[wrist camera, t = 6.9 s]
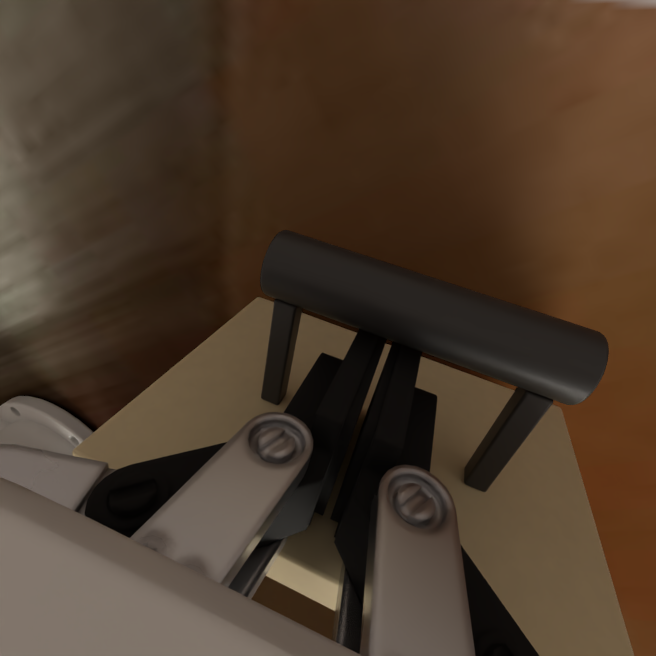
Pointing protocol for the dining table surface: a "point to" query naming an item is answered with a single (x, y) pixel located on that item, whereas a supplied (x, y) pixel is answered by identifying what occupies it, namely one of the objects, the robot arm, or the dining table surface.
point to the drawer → (448, 442)
